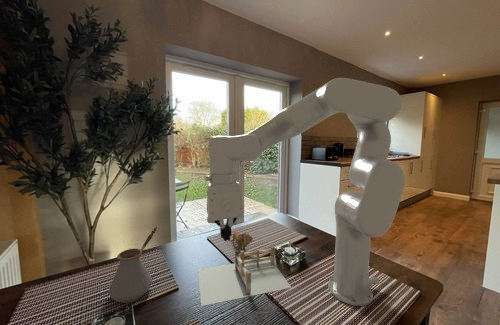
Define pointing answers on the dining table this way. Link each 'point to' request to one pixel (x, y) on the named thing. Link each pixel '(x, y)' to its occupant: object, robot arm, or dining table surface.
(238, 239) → the lion figurine
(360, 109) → the robot arm
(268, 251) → the fixed fence
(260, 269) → the card
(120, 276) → the coffee pot
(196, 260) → the dining table surface
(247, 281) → the fence panel
